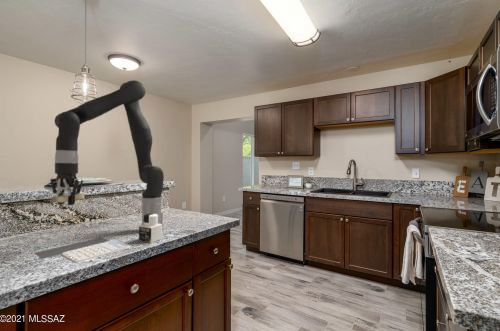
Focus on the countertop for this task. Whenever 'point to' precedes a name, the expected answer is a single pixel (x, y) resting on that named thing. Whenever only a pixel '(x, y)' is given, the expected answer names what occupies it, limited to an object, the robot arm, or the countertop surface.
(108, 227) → the countertop surface
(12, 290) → the countertop surface
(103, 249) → the calculator
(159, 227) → the medicine bottle
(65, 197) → the domino
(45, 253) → the mat
